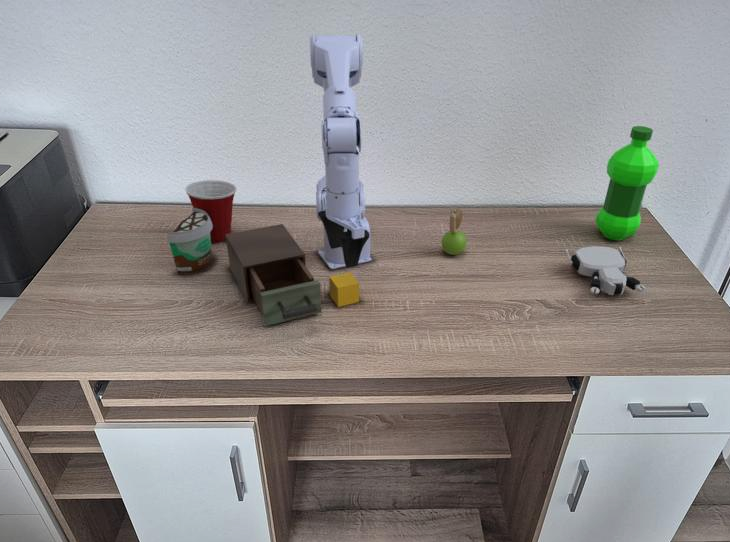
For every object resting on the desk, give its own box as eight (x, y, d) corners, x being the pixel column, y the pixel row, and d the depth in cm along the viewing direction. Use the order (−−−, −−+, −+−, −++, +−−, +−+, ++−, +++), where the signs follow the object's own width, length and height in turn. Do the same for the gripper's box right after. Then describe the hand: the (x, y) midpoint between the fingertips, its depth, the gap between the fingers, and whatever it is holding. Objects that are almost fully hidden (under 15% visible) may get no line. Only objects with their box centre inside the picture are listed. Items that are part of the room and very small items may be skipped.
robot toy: (644, 302, 124) (614, 260, 135) (651, 284, 121) (620, 242, 132) (586, 305, 122) (560, 262, 134) (592, 287, 119) (565, 244, 131)
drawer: (330, 326, 112) (329, 296, 108) (273, 340, 108) (269, 309, 104) (298, 278, 125) (296, 250, 121) (245, 289, 121) (242, 260, 117)
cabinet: (307, 289, 123) (305, 254, 118) (248, 302, 119) (243, 266, 114) (285, 257, 133) (282, 223, 129) (230, 268, 129) (225, 234, 124)
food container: (202, 281, 125) (195, 236, 119) (174, 277, 126) (165, 233, 120) (227, 252, 135) (221, 209, 129) (200, 248, 135) (193, 206, 130)
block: (350, 290, 123) (350, 271, 121) (359, 302, 120) (359, 282, 117) (329, 295, 122) (329, 276, 119) (338, 307, 118) (337, 287, 116)
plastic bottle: (646, 240, 143) (679, 134, 129) (610, 248, 140) (639, 139, 125) (617, 222, 151) (645, 119, 136) (582, 229, 147) (607, 124, 133)
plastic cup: (252, 233, 142) (246, 184, 135) (218, 252, 134) (210, 201, 127) (217, 221, 146) (210, 173, 139) (183, 239, 139) (173, 189, 132)
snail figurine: (435, 258, 134) (440, 207, 127) (444, 245, 139) (449, 195, 132) (459, 263, 133) (465, 212, 126) (468, 250, 138) (473, 200, 131)
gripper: (381, 200, 103) (379, 270, 111) (347, 169, 114) (348, 235, 122) (341, 207, 101) (343, 278, 109) (311, 175, 111) (314, 242, 119)
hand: (343, 256), depth 115 cm, fingers open, 7 cm apart
